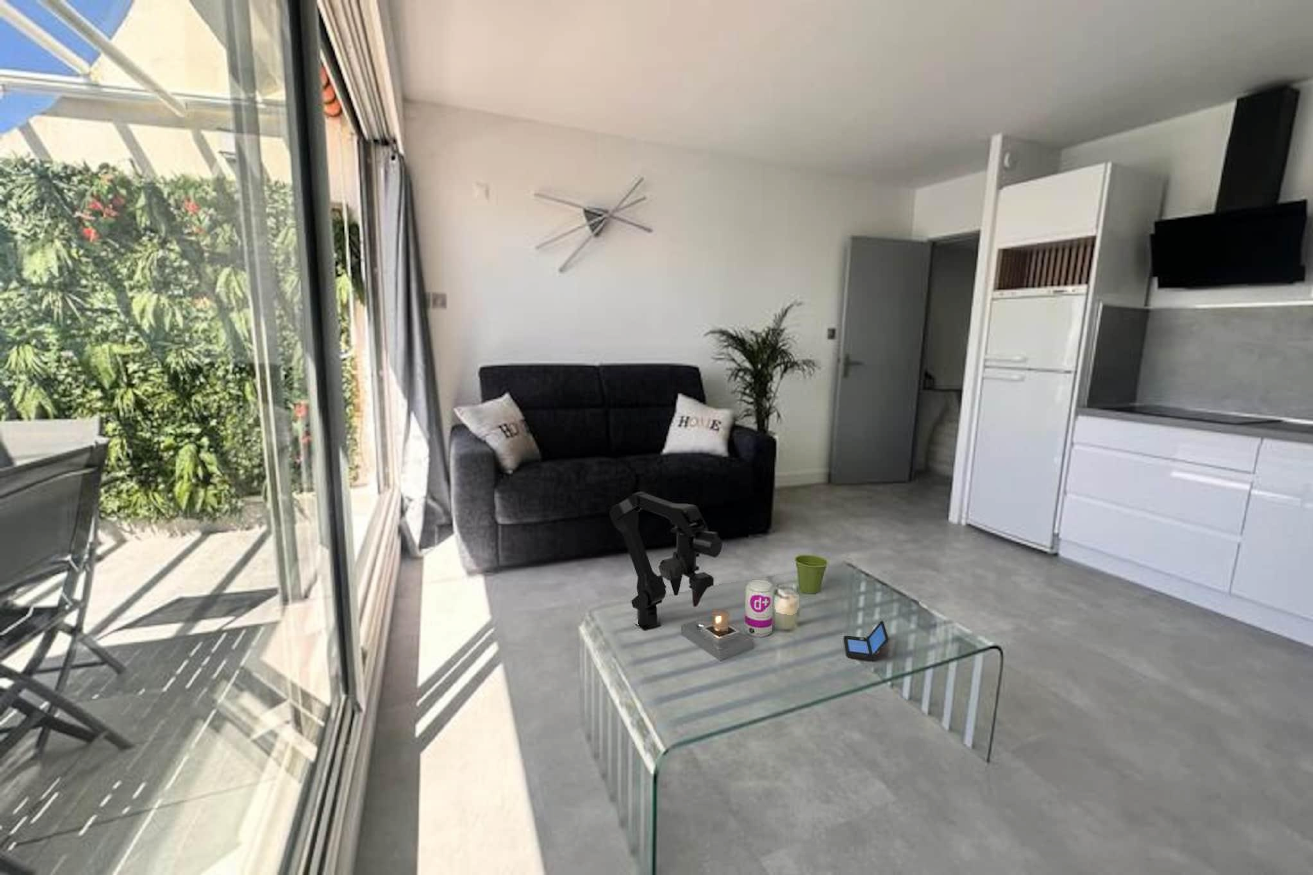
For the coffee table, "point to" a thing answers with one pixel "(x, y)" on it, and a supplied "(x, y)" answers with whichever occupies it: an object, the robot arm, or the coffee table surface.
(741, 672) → the coffee table surface
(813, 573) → the plant pot
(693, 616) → the coffee table surface
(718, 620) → the copper tin
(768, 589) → the supplement can
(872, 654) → the handheld game console
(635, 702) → the coffee table surface
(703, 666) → the coffee table surface
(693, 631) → the grey socket plate
